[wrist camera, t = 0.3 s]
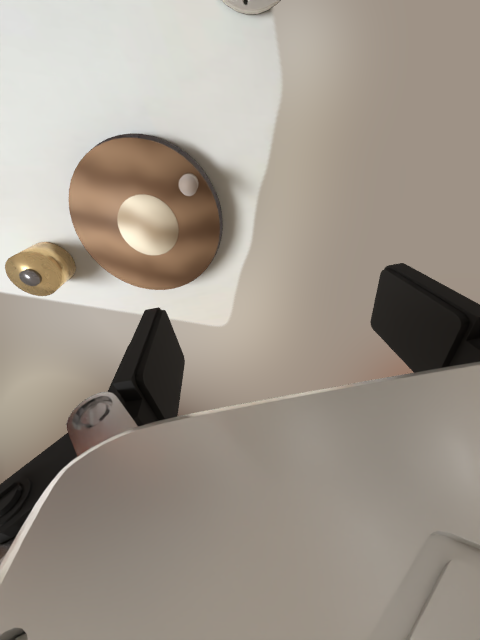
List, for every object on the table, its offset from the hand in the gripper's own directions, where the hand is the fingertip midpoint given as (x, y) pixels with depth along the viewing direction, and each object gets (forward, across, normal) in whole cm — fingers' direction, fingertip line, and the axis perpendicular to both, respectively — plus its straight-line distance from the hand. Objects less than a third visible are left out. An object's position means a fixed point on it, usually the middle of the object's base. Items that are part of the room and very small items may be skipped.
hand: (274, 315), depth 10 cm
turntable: (+33, +13, +1) cm, 35 cm away
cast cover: (+35, +32, +4) cm, 48 cm away
